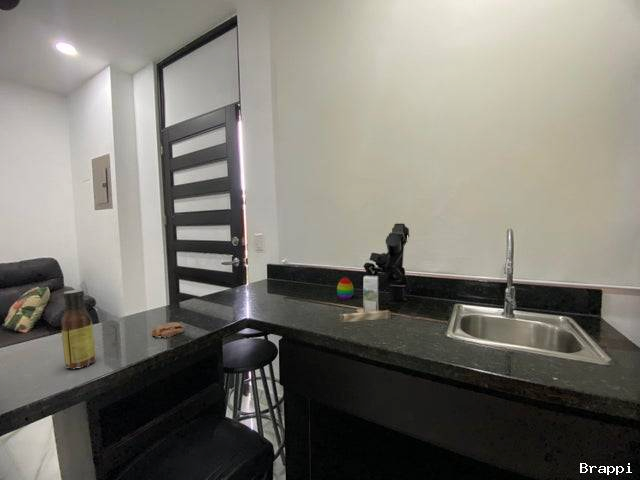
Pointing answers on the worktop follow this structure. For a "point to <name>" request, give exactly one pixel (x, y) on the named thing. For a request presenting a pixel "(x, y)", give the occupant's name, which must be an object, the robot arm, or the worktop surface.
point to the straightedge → (364, 316)
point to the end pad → (361, 310)
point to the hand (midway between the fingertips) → (370, 287)
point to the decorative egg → (345, 288)
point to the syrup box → (370, 293)
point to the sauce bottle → (77, 331)
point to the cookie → (167, 329)
